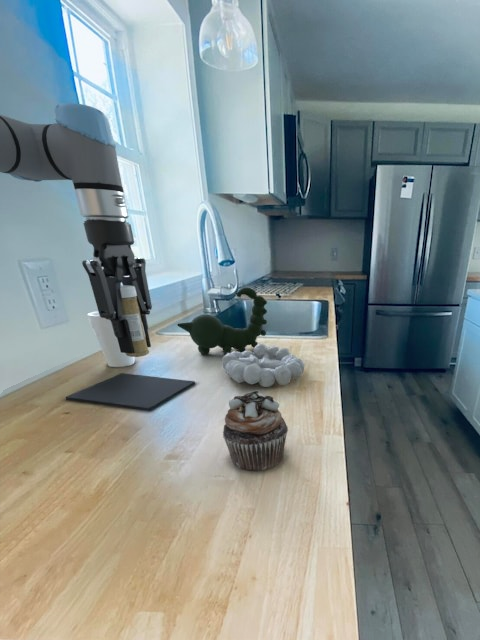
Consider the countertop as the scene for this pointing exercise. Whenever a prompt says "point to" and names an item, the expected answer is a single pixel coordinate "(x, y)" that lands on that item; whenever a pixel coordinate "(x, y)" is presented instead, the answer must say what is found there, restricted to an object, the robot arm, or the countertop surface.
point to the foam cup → (108, 341)
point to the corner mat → (132, 391)
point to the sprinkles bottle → (133, 321)
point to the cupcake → (255, 432)
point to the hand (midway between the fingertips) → (136, 349)
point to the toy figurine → (228, 328)
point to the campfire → (263, 365)
